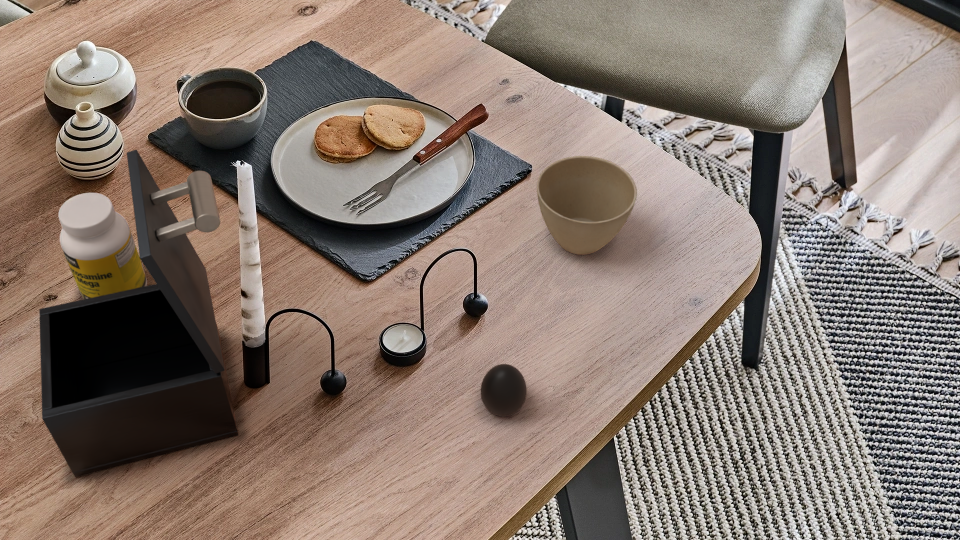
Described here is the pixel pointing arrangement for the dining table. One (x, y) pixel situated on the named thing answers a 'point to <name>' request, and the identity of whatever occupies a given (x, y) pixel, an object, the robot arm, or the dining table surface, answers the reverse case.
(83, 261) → the pill bottle
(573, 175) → the tan bowl
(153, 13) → the dining table surface
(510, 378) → the egg
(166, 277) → the lid
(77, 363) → the compartment
